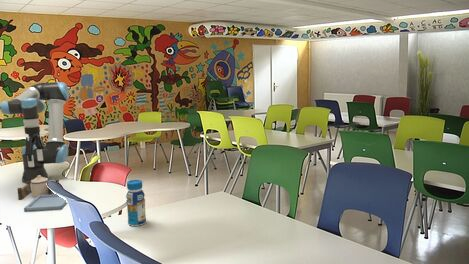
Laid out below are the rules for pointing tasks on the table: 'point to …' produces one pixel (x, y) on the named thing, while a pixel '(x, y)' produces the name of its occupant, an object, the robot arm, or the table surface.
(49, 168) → the table surface
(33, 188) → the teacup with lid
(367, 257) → the table surface
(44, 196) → the tray
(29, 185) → the walnut rack
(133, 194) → the beverage bottle
